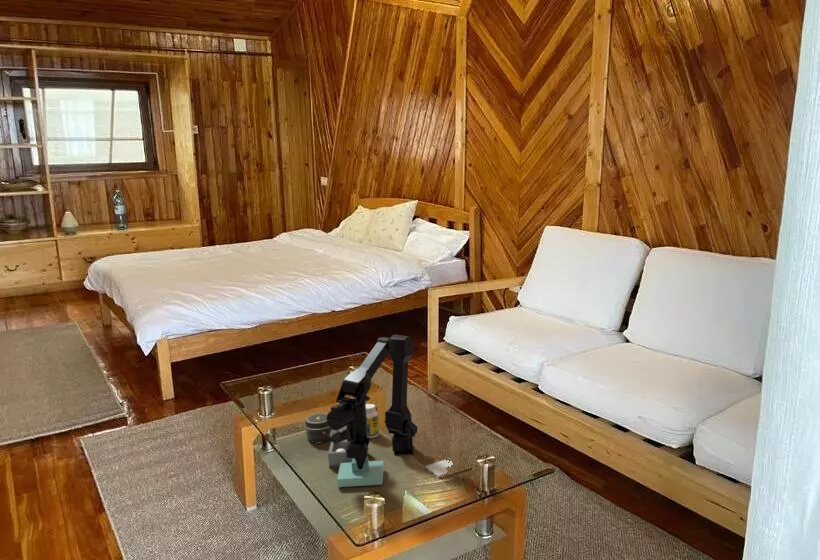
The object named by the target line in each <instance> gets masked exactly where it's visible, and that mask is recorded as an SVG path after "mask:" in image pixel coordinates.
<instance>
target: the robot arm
mask: <svg viewBox="0 0 820 560" xmlns="http://www.w3.org/2000/svg"><path fill="white" fill-rule="evenodd" d="M415 347H416V346H415V340H414V339H413V337H411V336H410V335H409V336H407V335H400V334H392V335H391V337H389V336H388V337H387V336H385V337H384V336H381V337H378V338H377V340H376V343H375V344H374V347H373V348H372V349H371V351H370V352H369V353H368V355H367V356H366V357H365V359H364V360H363V362H362V363H361V365H360V366H359V367H358V368H357V369H355V370H353V371H351V372H350V373H349V374H348V375H347V376H346V377H345V378H344V379H343V381H342V383H341V386H340V389H339V391H338V394H337V397H336V400H335V402H336V403H338V404H337V405H332V406H331V407H330V411H329V412H327V414H328V415H327V417H326V419H327V423H328V425H329V427H330V428H331V429H333V430H331V432H330V438H331V440H330V443H331V442H333V444H334V445H336V444H338V443H339V442H342V441H346V440H347V442H350V444H349V445H348V446H347V448H346V457H347V458H355V461H356V463H357V466H358V469H362V468H363V465H364V462H365V459H366V457H367V456H368V457H369V449H370V448H369V445H370V440H371V438H370V437H368V435H369V434H370V433H371V428H370V425H369V424H368V423H367V421H368V420H367V416H366V404H367V403H366V402H368V401H369V400H370V399H371V398H370V396H367V395H368V393H369V391H370V388H371V387H372V378H373V377H374V375H375V374H376V373H377V371H378V370H379V368H380V366H381V365H383V362H384V361H385V360H386V358H387V356H388V355H389V356H390V359H391V360H392V382H391V383H392V384H391V385H392V386H391V406H390V407H389V408H388V410H386V411H385V413H384V417H385V418H384V424H385V427H386V428H387V432H388V433H389V434H392V435H393V436H391V446H392V447H391V448H392V451H393V455H394V456H399V455H400V456H402V455H403V456H404V455H414V453H415V451H414V450H415V449H414V442H413V441H414V440H413V438H414V437H416V434H417V433H418V426H417V425H416V424H415V423H414V422H412V413H411V411H410V409H409V407H408V377H409V376H408V375H409V374H408V373H409V362H410V360H411V359H412V357H413V355H414V352H415V351H414V350H415ZM346 396H347V397H346ZM350 397H351V398H350Z"/></svg>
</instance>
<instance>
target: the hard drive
mask: <svg viewBox="0 0 820 560" xmlns="http://www.w3.org/2000/svg"><path fill="white" fill-rule="evenodd" d="M448 462H449V460H447V461H446V459H443V460H440V461H436V462H432V463H430V464H426V465H425V469H426V468H427V469H428V470H429V471H428V470H427V469H426V470H427V471H428V472H430V471H432V472H433V474H434V475H436V476H437V477H440V476H441V475H444V474H446V473H447V472H448V471H447V469H445V468H447V467H448V466H449V467H451V465H453V463H452V461H450V462H449V463H448ZM433 474H432V475H433ZM434 475H433V476H434ZM436 476H435V477H436ZM437 477H436V478H437Z"/></svg>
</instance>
